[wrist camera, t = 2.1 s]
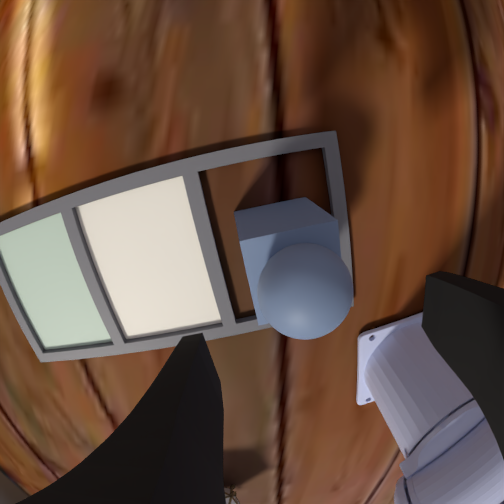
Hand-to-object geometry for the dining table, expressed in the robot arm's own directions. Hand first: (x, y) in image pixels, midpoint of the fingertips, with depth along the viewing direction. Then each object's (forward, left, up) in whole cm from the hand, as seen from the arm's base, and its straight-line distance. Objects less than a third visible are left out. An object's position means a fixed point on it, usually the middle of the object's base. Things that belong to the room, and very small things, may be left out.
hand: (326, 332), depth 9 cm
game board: (+7, 0, -9) cm, 12 cm away
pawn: (0, 0, -9) cm, 9 cm away
